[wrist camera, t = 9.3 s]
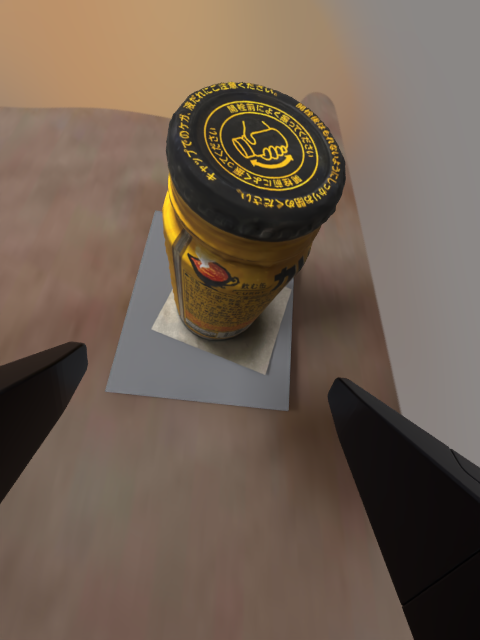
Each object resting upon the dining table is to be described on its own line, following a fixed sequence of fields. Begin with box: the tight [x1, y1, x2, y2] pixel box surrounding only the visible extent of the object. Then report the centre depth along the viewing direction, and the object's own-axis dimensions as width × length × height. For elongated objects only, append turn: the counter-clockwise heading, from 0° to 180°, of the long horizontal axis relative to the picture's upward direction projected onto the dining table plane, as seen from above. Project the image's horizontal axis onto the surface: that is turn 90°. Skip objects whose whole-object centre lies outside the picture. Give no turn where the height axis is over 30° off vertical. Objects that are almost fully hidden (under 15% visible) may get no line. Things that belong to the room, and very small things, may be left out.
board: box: [105, 210, 294, 411], centre depth 18 cm, size 14×12×1 cm
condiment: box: [152, 82, 346, 375], centre depth 12 cm, size 7×8×12 cm
